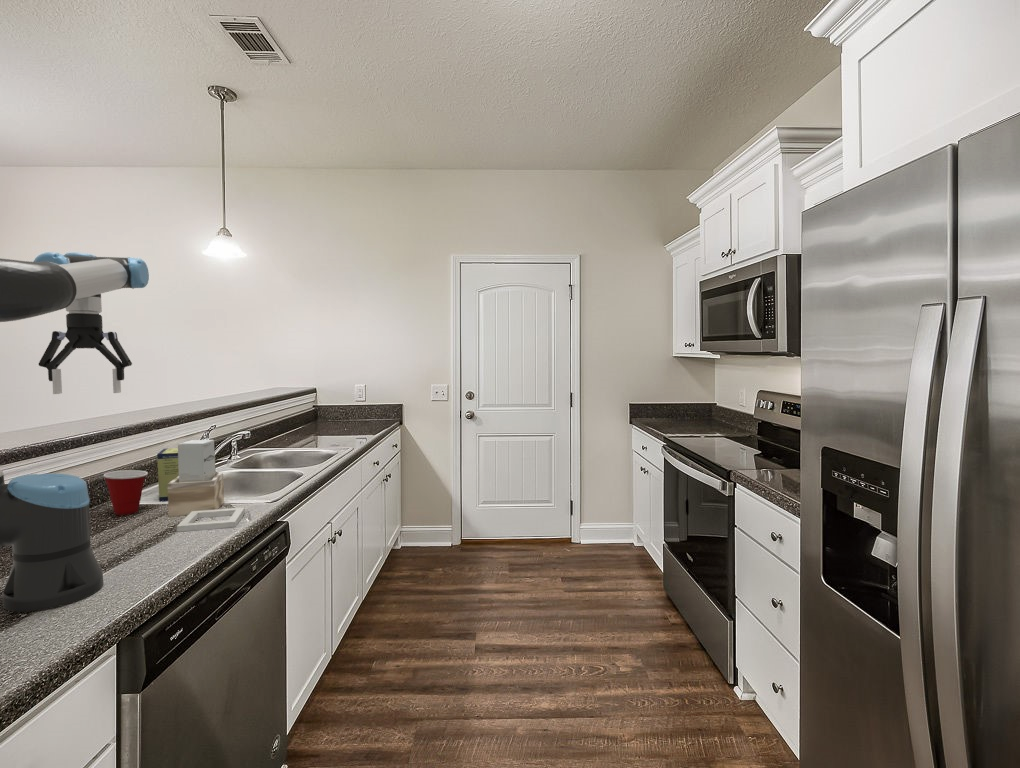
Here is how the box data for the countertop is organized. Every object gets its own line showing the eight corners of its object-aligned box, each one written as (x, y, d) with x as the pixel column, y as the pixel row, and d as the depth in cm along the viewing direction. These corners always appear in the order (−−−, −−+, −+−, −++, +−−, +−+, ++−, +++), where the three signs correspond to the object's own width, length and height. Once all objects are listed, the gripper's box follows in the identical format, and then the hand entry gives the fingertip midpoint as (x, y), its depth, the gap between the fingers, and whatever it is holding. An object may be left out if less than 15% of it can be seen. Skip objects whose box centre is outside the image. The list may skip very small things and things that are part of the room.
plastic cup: (145, 515, 158) (143, 474, 157) (100, 519, 154) (98, 477, 153) (153, 505, 168) (151, 467, 167) (111, 509, 164) (109, 470, 163)
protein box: (164, 494, 181) (162, 448, 180) (217, 489, 187) (215, 445, 186) (158, 502, 172) (156, 453, 171) (213, 497, 178) (212, 450, 177)
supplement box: (203, 485, 160) (202, 443, 159) (178, 485, 160) (176, 443, 159) (216, 479, 167) (214, 439, 167) (191, 480, 167) (190, 439, 166)
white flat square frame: (235, 527, 147) (235, 521, 147) (176, 531, 143) (176, 526, 143) (244, 512, 160) (244, 507, 160) (191, 516, 157) (191, 511, 156)
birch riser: (214, 512, 160) (213, 481, 159) (168, 516, 157) (167, 483, 156) (224, 502, 172) (223, 472, 171) (181, 505, 168) (180, 474, 168)
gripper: (143, 315, 150) (146, 391, 151) (36, 313, 144) (40, 393, 145) (132, 313, 143) (135, 393, 144) (18, 311, 136) (23, 395, 138)
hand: (87, 393), depth 145 cm, fingers open, 13 cm apart
